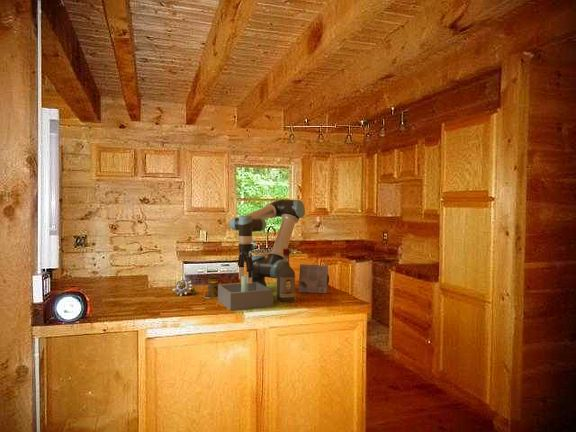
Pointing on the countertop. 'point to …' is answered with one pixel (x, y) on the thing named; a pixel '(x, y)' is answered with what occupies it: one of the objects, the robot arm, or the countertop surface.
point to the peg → (244, 284)
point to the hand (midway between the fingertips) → (245, 281)
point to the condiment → (212, 287)
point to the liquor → (286, 280)
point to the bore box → (245, 296)
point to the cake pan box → (313, 278)
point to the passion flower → (183, 287)
